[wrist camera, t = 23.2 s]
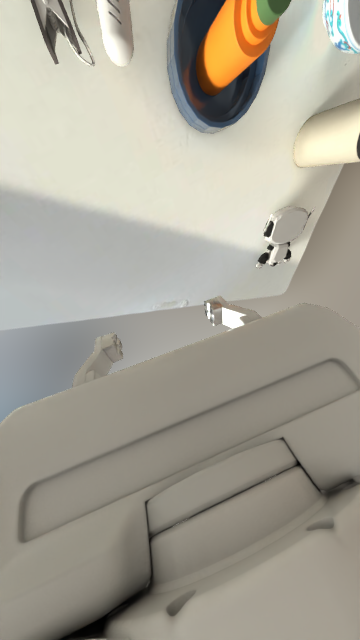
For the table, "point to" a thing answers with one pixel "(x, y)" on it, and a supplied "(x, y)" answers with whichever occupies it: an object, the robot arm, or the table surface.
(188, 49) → the bowl
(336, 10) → the chinaware
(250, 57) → the juice bottle
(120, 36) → the clip-on lamp
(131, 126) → the table surface
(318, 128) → the travel mug
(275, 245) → the robot toy
